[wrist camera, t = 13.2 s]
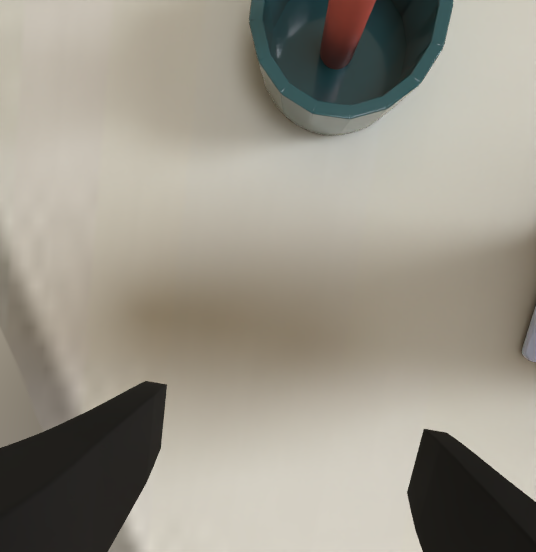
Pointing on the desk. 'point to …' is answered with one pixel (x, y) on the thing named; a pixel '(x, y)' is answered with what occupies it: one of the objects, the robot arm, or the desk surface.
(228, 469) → the desk surface
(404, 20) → the cup
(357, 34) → the red cylinder rod
